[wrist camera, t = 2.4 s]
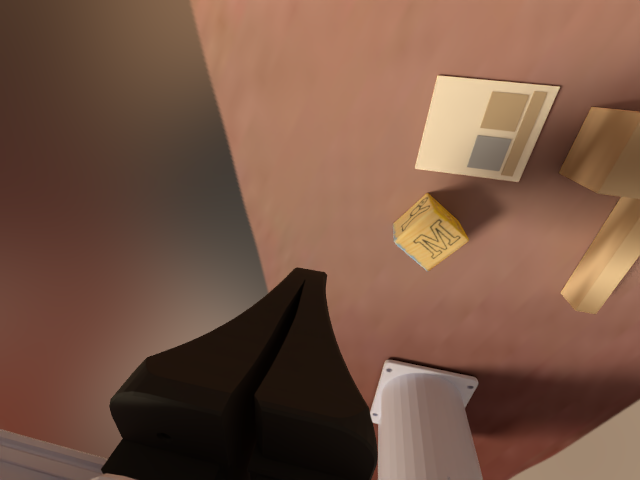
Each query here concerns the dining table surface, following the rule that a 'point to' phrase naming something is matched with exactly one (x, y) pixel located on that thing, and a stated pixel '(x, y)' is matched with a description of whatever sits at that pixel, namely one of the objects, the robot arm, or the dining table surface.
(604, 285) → the backstop
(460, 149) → the card
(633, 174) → the maple cube
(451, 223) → the alphabet block
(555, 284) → the dining table surface
